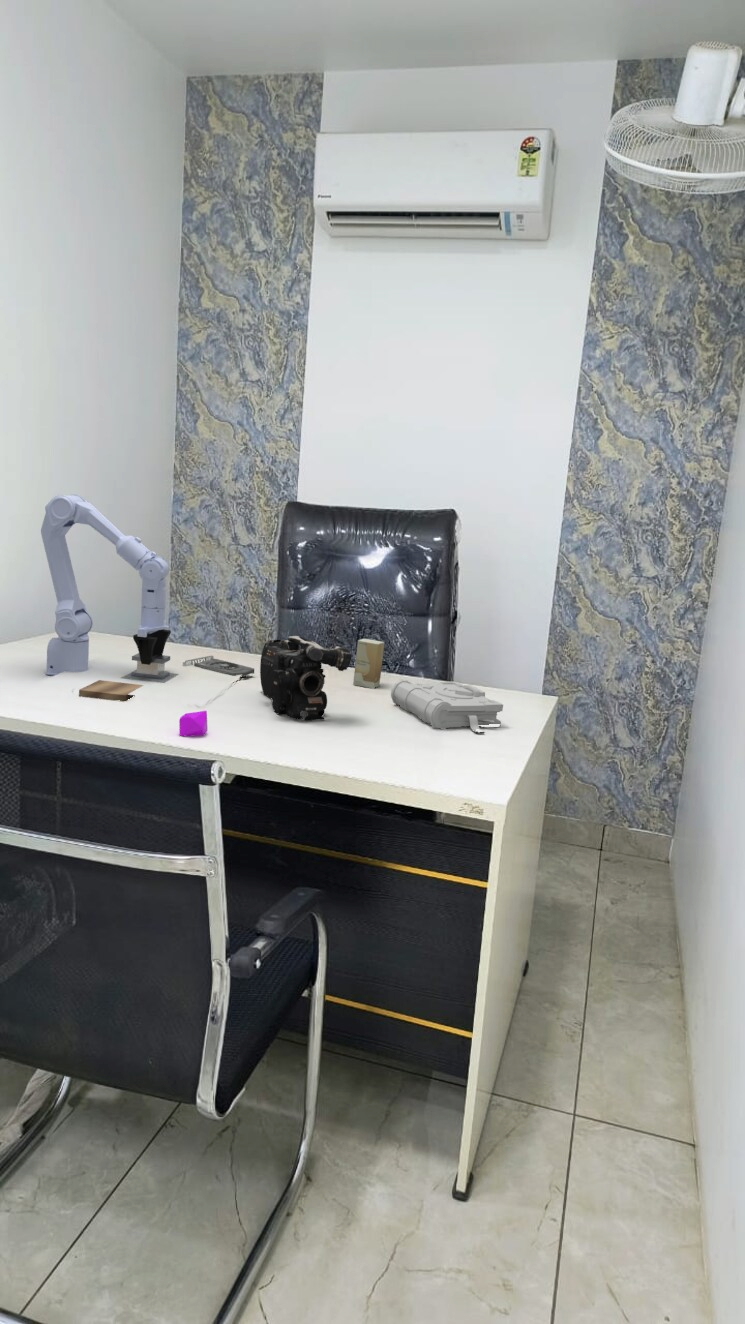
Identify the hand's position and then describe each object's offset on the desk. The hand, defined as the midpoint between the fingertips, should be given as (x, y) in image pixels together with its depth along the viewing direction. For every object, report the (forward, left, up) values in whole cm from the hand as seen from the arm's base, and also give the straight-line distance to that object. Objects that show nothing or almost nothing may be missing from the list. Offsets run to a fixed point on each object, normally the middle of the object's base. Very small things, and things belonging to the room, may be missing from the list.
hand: (151, 661), depth 229 cm
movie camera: (+39, -9, -6) cm, 40 cm away
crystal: (+24, -39, -6) cm, 46 cm away
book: (+75, -2, -6) cm, 75 cm away
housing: (0, 0, -4) cm, 4 cm away
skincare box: (+51, +22, -5) cm, 56 cm away
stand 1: (-4, -16, -5) cm, 17 cm away
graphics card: (+12, +17, -6) cm, 22 cm away
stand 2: (0, 0, -5) cm, 5 cm away
